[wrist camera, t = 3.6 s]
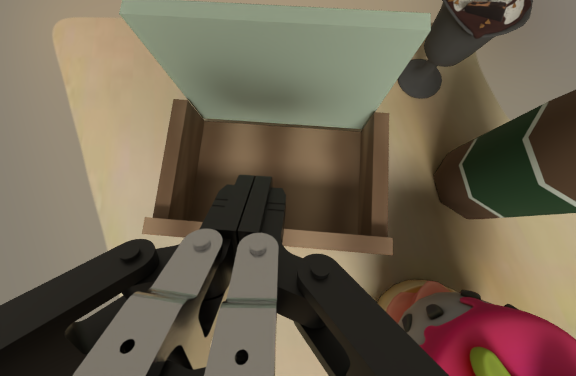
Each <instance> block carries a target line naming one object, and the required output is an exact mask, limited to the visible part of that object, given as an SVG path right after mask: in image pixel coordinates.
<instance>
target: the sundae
mask: <svg viewBox="0 0 576 376" xmlns="http://www.w3.org/2000/svg"><path fill="white" fill-rule="evenodd" d="M442 1H443V4H442V7H441V9H440V11H439V13H438V15H437V17H436V19H435V21H434V23H433V25H432V27H431V31H430V32H429V34H428V36H427V38H426V40H425V44H424V50H425V53H426V56H427V58H428V60H423V59H415V60H411V61H410V62H409V63H408V64H407V66H406V67H405V69H404V70H403V72H402V73H401V75H400V76H399V78H398V82H399V85H400V87H401V88H402V90H403V91H404V92H405V93H407V94H408V95H410V96H412V97H415V98H428V97H430V96H432V95H434V94H435V93H436V92H437V91H438V90H439V89H440V86H441V82H442V78H441V74H440V72H439V70H438V69H437V66H443V67H448V66H453V65H456V64H457V63H459V62H461V61H462V60H464V59H465V58H467V57H469V56H470V55H471V54H473V53H474V52H475V51H477V50H478V49H479V48H480V47H482V46H483V45H484V44H486V43H487V42H488V41H490V40H491V39H492V38H494V37H495V36H498V35H502V34H506V33H509V32H511V31H513V30H516V29H518V28H519V27H521V26H523V25H524V24H525V23H526V22H527V20H528V19H529V17H530V13H531V9H532V2H533V0H442Z"/></svg>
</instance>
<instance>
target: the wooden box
mask: <svg viewBox="0 0 576 376" xmlns="http://www.w3.org/2000/svg"><path fill="white" fill-rule="evenodd" d="M388 157H389V113H376V112H374V113H373V115H372V116H371V118H370V119H369V121H368V122H367V124H366V125H365V127H364V128H363V130H362V131H361V132H356V131H341V130H326V129H312V128H297V127H283V126H268V125H254V124H239V123H225V122H210V121H204V120H203V119H202V117H201V116H200V115H199V114H198V112H197V111H196V110H195V109H194V107H193V106H192V105H191V104H190V103H189V101H188V100H178V99H174V100H173V106H172V111H171V117H170V123H169V128H168V134H167V140H166V145H165V151H164V157H163V162H162V168H161V174H160V179H159V185H158V191H157V196H156V202H155V208H154V213H153V218H148V217H145V220H144V225H143V231H142V234H150V235H162V236H174V237H186V236H187V235H188V234H190V233H192V232H194V231H196V230H199V229H200V227H201V225H202V223H203V221H204V219H205V217H206V215H207V213H208V211H209V209H210V207H211V206H212V204H213V202H214V200H215V198H216V196H217V194H218V192H219V190H221V189H222V188H223V187H224V186H226V185H227V184H229V185H235V182H236V180H237V178H238V176H239V175H255V176H270V177H272V179H273V188H283V190H284V192H285V194H286V211H285V226H284V234H283V243H282V245H283V246H290V247H302V248H313V249H325V250H337V251H348V252H360V253H371V254H383V255H393V238H388Z"/></svg>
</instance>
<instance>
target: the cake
mask: <svg viewBox="0 0 576 376" xmlns="http://www.w3.org/2000/svg"><path fill="white" fill-rule="evenodd" d="M377 303H378V304H379V305H380V306H381V307H382V308H383V309H384V310H385V311H386V312H387V313H388V314H389V315H390V316H391V317H392V318H393V319H394V320H395V321H396V322H397V323H398V324H399V325H400V327H401V328H402V329H403V330H404V331H405V332H406V333H407V334H408V335H409V336H410V337H411V338H412V339H413V340H414V341H415V342H416V343H417V344H418V345H419V346H420V347H421V348H422V349H423V350H424V351H425V352H426V353H427V354H428V355H429V356H430V357H431V358H432V359H433V360H434V361H435V362H436V363H437V364H438V365H439V366H440V367H441V368H442V369H443V370H444V371H445V372H446V373H447V374H448V375H449V376H576V340H575V339H574V338H573V337H572V336H571V335H569V334H568V333H567V332H565V331H564V330H562V329H561V328H559V327H558V326H556V325H554V324H552V323H550V322H549V321H547V320H545V319H543V318H540V317H538V316H535V315H533V314H530V313H527V312H525V311H521V310H518V309H517V308H515V307H514V306H512V305H510V304H506V305H505V306H499V305H494V304H491V303H488V302H486V301H483V300H481V297H480V295H479V294H478V293H476V292H473V291H467V290H462V291H461V292H459V293H458V292H456V291H455V290H453V289H450V288H448V287H445V286H443V285H442V284H440V283H438V282H436V281H426V280H406V281H403V282H401V283H398V284H396V285H393V286H392V287H391V288H390V289H388V290H387V291H386V292H385V293H384V294H383V295H382V296H381V297H380V299H379V301H378V302H377Z"/></svg>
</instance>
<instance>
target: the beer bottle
mask: <svg viewBox="0 0 576 376" xmlns="http://www.w3.org/2000/svg"><path fill="white" fill-rule="evenodd" d="M434 180H435V183H436V187H437V190H438V194H439V197H440V201H441V203H443V204H445V205H446V206H448V207H449V208H451V209H452V210H454V211H455V212H457V213H459V214H460V215H462V216H463V217H465V218H466V219H489V218H504V217H520V216H535V215H550V214H566V213H576V90H574V91H572V92H570V93H567V94H565V95H562V96H560V97H558V98H555V99H553V100H551V101H549V102H547V103H545V104H543V105H541V106H539V107H537V108H535V109H533V110H531V111H529V112H527V113H525V114H523V115H521V116H519V117H517V118H515V119H513V120H511V121H509V122H507V123H505V124H503V125H501V126H499V127H497V128H495V129H494V130H492V131H490V132H488V133H486V134H484V135H482V136H480V137H478V138H476V139H474V140H472V141H470V142H468V143H466V144H464V145H462V146H460V147H458V148H456V149H455V150H453V151H452V152H450V153H448V154H447V156H446V157H445V159H444V160H443V162H442V164H441V165H440V167H439V168H438V170H437V172H436V173H435V175H434Z"/></svg>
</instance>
